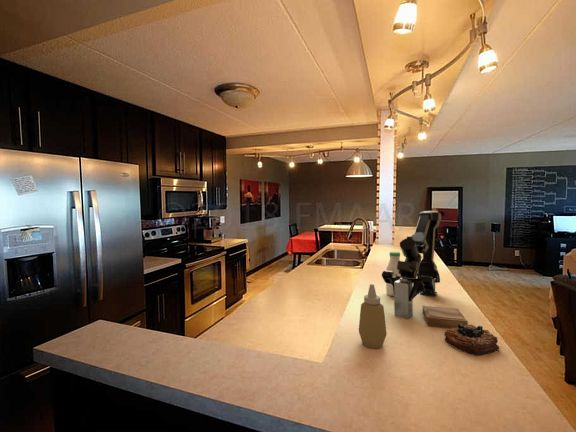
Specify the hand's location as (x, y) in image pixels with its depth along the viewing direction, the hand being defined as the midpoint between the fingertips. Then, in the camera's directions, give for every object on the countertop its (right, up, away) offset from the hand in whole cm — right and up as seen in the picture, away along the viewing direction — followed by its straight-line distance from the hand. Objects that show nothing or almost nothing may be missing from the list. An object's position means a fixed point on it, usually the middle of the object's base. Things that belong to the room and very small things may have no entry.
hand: (402, 299), depth 104 cm
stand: (+13, -7, -4) cm, 15 cm away
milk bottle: (+8, -6, +27) cm, 29 cm away
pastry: (+11, -7, -22) cm, 26 cm away
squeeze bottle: (-17, -8, -20) cm, 28 cm away
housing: (+1, -7, +1) cm, 7 cm away
